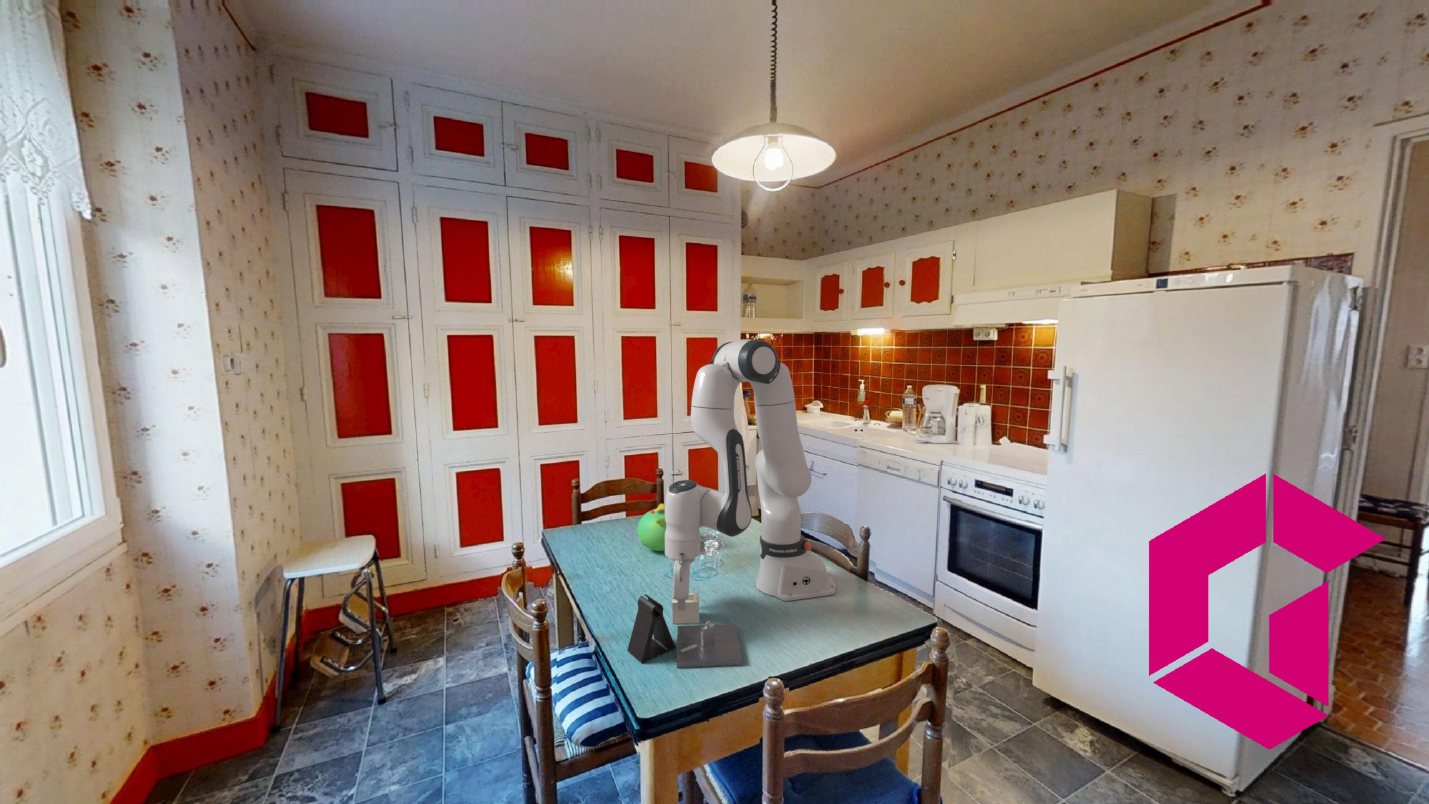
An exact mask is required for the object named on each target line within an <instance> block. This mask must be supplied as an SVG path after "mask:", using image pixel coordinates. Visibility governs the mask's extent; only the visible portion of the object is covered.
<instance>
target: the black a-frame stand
mask: <svg viewBox="0 0 1429 804" xmlns="http://www.w3.org/2000/svg"><path fill="white" fill-rule="evenodd" d="M636 612H637V613H636V617H635V620H634V624H633V626H632V631H631V635H630V639H629V643H628V646H627V649H626V650H627V652H628V653H629V654H631V655H632V657H634V658H635V659H636V660H637V661H638V662H640V663H641V664H645V663H647V662H649V661H651V660H653V659H656V658H658V657H659V656H662V655H665V654H666V653H669V652H671V651H672V650H675V648H676V644H675V643H674V640H673V637H672V635H671V632H670V629H669V627H668V624H667V622H666V620H665V616H664V606H663V604H661V603H660V602H658V601H657V600H655V599H654V598H652V597H651V596H649V595H648V594H646V593H645V594H644V596H643V595H640V596H639V597H638V600H637V611H636Z"/></svg>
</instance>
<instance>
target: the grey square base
mask: <svg viewBox="0 0 1429 804" xmlns="http://www.w3.org/2000/svg"><path fill="white" fill-rule="evenodd" d="M676 633H677V635H676V640H677V641H676V669H686V668H687V669H688V668H689V669H690V668H709V667H710V668H712V667H733V666H735V667H737V666H742V665H743V658H742V652H741V647H740V640H739V636H738V635H739V634H738V629H737V624H736V623H722V624H720V623H719V624H718V623H717V624H714V623H713V624H711V621H710V620H708V621H705V622H704V624H696V625H695V624H693V625H677V632H676Z"/></svg>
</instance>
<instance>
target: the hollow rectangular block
mask: <svg viewBox="0 0 1429 804" xmlns="http://www.w3.org/2000/svg"><path fill="white" fill-rule="evenodd" d="M699 596H700V595H699V592H689V598H688V599H687V600H686V601H685V610H678V602H677V600H675V599H674V598H673V597H672V604H671V605H672V607H671V609H672V625H682V624H700V597H699Z"/></svg>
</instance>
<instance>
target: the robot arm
mask: <svg viewBox="0 0 1429 804" xmlns="http://www.w3.org/2000/svg"><path fill="white" fill-rule="evenodd" d="M695 376H696V377H695V380H694V385H693V388H692V396H691V407H690V409H691V410H690V425H691V428H692V430H693V432H694V434H695V435H696V436H697V437H698V438H699V439H700V440H701V441H702V442H703V443H705V444H707V445H708V446H710V447H711V448H712V449H714V451H716V453H717V455H719V456H720V458H721V460H722V461H721V462H722V464H723V476H724V477H723V478H724V492H723V491H720V490H716V489H715V488H714V489H713V488H709V487H706V486H703V485H699V484H698V482H696V481H694V480H691V479H682V480H677V481H675V482H672V483H671V484H670V485H669V487H668V488H667V491H666V494H665V502H664V505H665V521H666V531H665V551H664V555H665V556H666V557H667V558H669V561H670V563H672V564H673V571H672V572H673V573H672V574H673V576H672V578H673V579H672V584H673V585H672V599H673V598H674V599H675V600H677V602H678V610H685V601H686V600H687V599H688V598H689V593H690V582H691V581H690V578H691V564H692V563H694V562H695V561H696V558H697V557H699V556H700V554H701V531H700V528H702V527H705V528H709V529H712V530H715V531H718V532H719V533H721V534H723V535H726V536H728V537H730V538H731V537H732V538H733V537H737V536H738V535H739V536H740V534H742V533H743V532H745V531H746V530H747V529H748V527H749V526H750V525H751V522H752V517H753V512H752V505H751V500H750V497H749V491H748V489H749V488H748V477H747V476H748V475H747V463H746V460H747V459H746V451H745V443H744V439H743V436H742V434H741V433H740V432H739V429H738V428H737V424H736V421H735V396H736V391H737V389H738V387H739V385H740V383H746V382H748V383H749V384H750V386H751V387H752V390H753V401H754V402H753V403H754V411H755V422H756V430H757V431H756V432H757V435H758V437H759V441H760V444H761V448H762V449H761V450H759V451H758V452H757V454H756V456H755V459H754V465H755V466H754V467H755V471H756V478H757V479H756V480H757V487H758V494H759V495H758V496H759V501H760V510H761V512H760V513H761V515H760V516H761V517H760V519H761V527H760V528H761V534H760V536H759V542H758V543H759V546H758V547H759V548H758V550H759V556H760V561H759V567H758V574H757V576H756V577H757V578H756V580H755V586H756V588H757V589H758V590H759V591H761V592H762V593H764V594H766V595H769V596H773V597H776V598H778V599H780V600H782V601H785V602H786V601H787V602H790V601H796V600H804V599H811V598H819V597H826V596H833V595H835V594H836V592H837V585H836V581H835V579H833V577H832V576H831V575H830V574H829V573H828V571H827V566H826V565H825V562H824V561H823V560H822V559H821V558H820V557H818V556H817V555H816V554H815V553H814V552H812V550H813V545H812V544H811V542H810V541H808V539H807V538H806V537H804V535H803V534H801V533H802V532H801V531H802V529H801V527H802V510H801V507H800V504H799V500H798V498H799V497H801V496H803V495H805V493H807V492H808V491H809V488H810V487H811V484H812V474H811V471H810V468H809V466H808V463H807V460H806V457H805V456H806V455H805V452H804V448H803V445H802V440H801V436H800V433H799V426H798V417H797V409H796V397H795V391H794V386H793V381H792V377H791V374H790V370H789V367H788V366H787V365H786V364H785V363H782V362H780V360H779V355H778V353H777V351H776V349H775V347H774V346H773V345H772V344H770V343H769V342H767V341H766V340H762V339H756V338H755V339H746V338H745V339H744V338H743V339H739V340H735V341H727V342H725V343H723V344H721V345H720V346H719V347H717V349H716V350H715V351H714V354H713V356H712V359H711V360H710V361H709V364H706V365H703V366H702V367H700V368H699V370H698V371H697V373H696V375H695Z"/></svg>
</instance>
